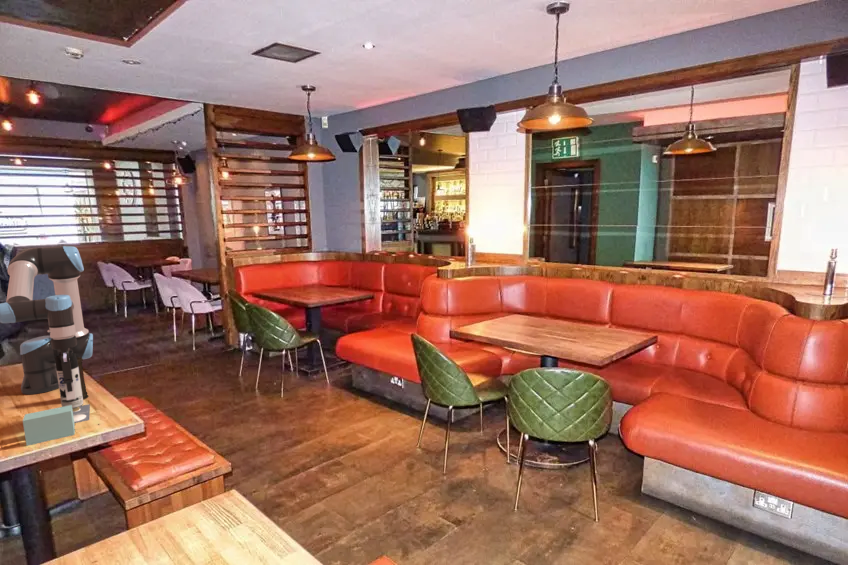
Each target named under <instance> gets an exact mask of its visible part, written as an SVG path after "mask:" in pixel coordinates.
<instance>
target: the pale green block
mask: <svg viewBox="0 0 848 565" xmlns="http://www.w3.org/2000/svg"><path fill="white" fill-rule="evenodd" d="M75 424H76V423H74V417H73V410H72V405H69V406H64V407H62V406H61V407H60V406H59V407H55V408H49V409H45V410H41V411H35V412H30V413H25V414H24V416H23V419H22V426H23V431H24V438H25V442H26V447H27V446H31V445H36V444H42V443H45V442H50V441H53V440H58V439H62V438H63V439H64V438H67V437H70V436H71V437H72V436H75V432H76V431H75V430H76V428H75Z"/></svg>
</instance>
